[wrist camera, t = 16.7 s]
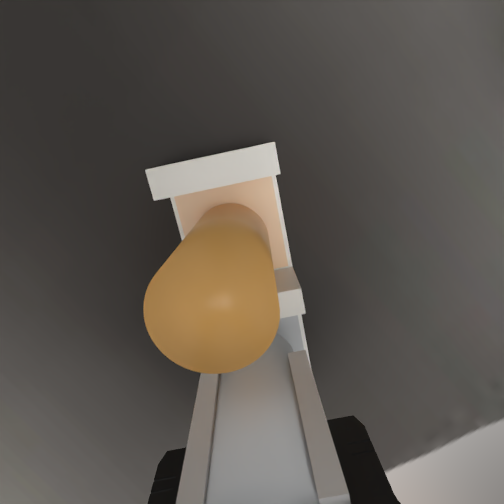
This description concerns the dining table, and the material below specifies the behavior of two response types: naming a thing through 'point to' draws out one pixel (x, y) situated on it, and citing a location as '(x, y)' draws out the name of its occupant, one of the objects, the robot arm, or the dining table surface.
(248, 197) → the rack
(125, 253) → the dining table surface
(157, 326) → the orange plug
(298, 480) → the grey plug
